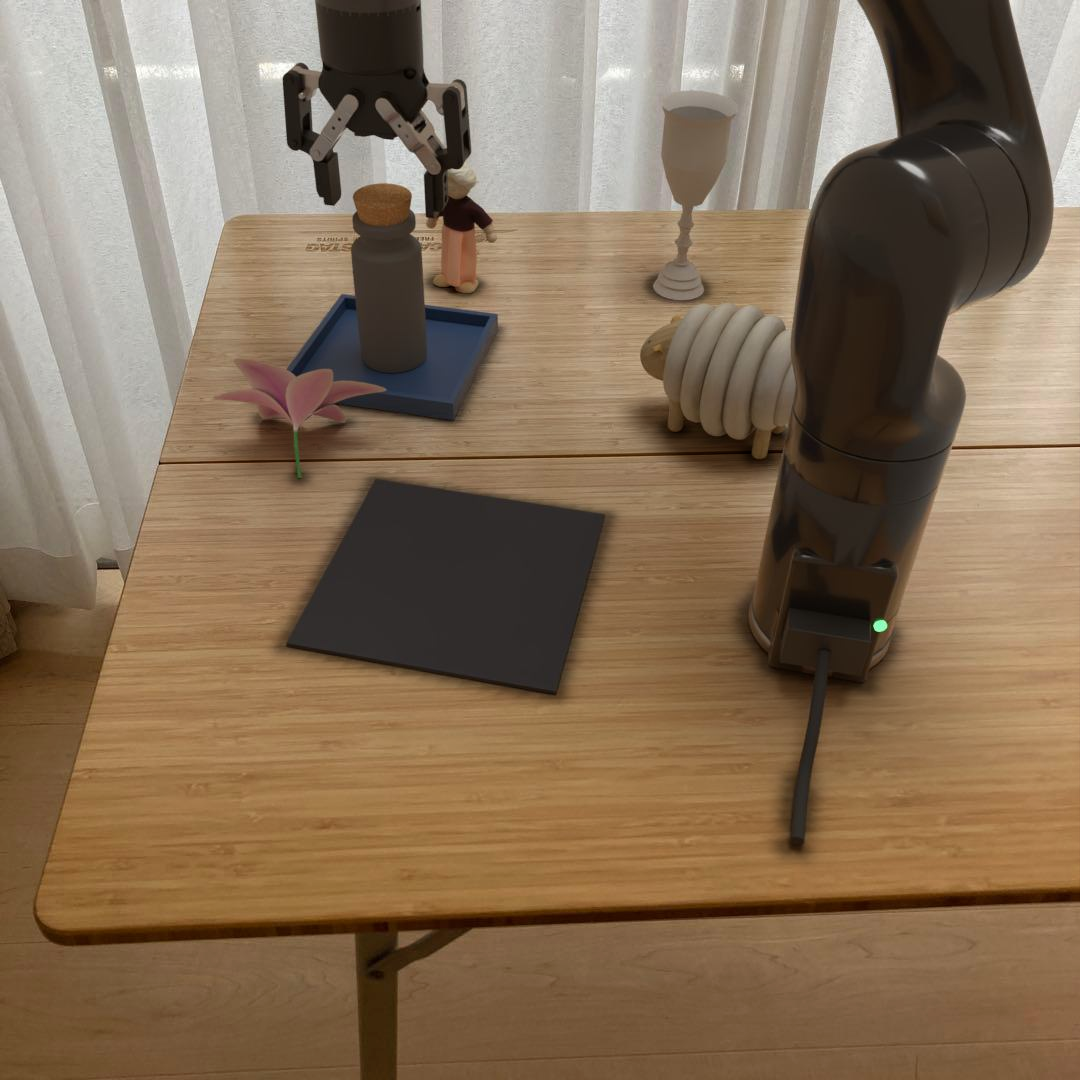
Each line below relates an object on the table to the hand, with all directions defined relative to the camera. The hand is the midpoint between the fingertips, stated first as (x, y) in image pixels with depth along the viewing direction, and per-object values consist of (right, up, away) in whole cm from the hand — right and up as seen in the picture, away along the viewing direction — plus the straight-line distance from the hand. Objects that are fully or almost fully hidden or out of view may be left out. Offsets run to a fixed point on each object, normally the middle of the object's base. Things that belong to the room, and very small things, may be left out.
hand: (383, 208), depth 90 cm
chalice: (+26, -2, +21) cm, 34 cm away
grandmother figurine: (+5, -2, +20) cm, 21 cm away
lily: (-6, -19, 0) cm, 21 cm away
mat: (+7, -29, -12) cm, 32 cm away
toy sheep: (+28, -18, +2) cm, 34 cm away
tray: (0, -11, +9) cm, 14 cm away
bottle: (0, -11, +9) cm, 14 cm away
